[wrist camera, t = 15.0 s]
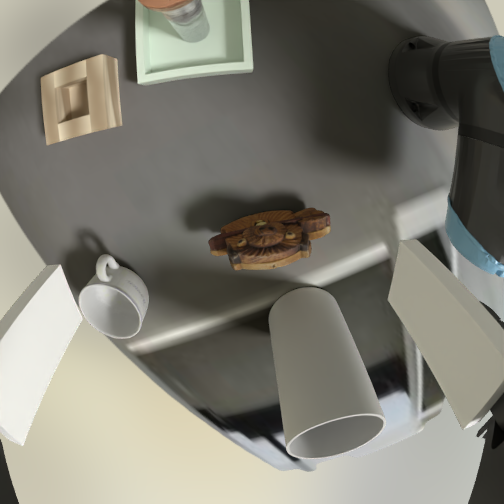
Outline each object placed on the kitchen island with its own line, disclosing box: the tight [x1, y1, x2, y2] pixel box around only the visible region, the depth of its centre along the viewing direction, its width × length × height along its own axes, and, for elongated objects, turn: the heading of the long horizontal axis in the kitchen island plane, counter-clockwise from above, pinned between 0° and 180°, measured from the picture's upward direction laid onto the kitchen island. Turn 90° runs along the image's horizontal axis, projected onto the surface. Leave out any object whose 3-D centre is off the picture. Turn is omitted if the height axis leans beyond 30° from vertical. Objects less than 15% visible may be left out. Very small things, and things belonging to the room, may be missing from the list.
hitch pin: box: [138, 0, 210, 43], centre depth 21 cm, size 6×6×17 cm
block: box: [41, 54, 122, 145], centre depth 30 cm, size 10×10×5 cm
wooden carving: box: [209, 208, 331, 270], centre depth 38 cm, size 16×5×10 cm, turn 106°
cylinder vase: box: [269, 287, 386, 459], centre depth 40 cm, size 12×12×25 cm
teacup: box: [79, 254, 149, 339], centre depth 42 cm, size 14×11×8 cm
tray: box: [135, 0, 253, 85], centre depth 27 cm, size 14×14×4 cm
